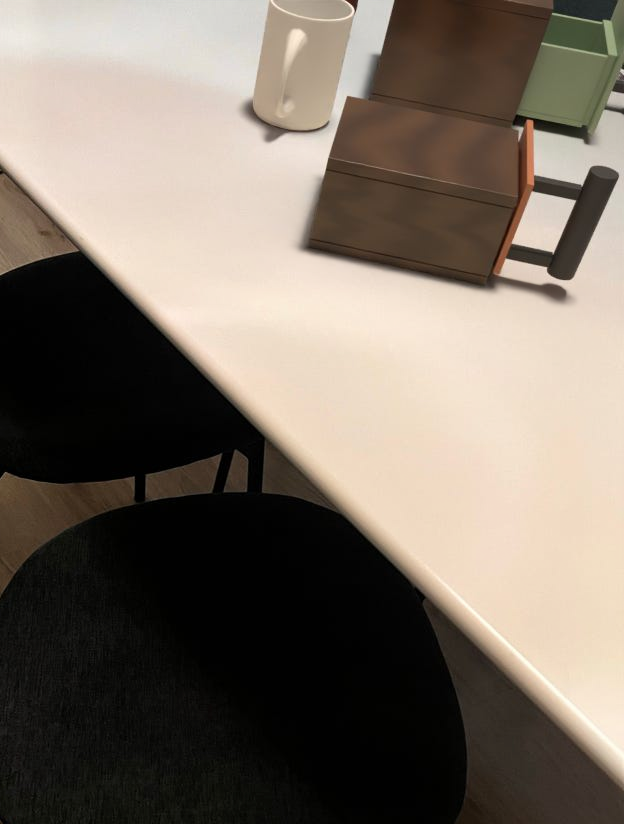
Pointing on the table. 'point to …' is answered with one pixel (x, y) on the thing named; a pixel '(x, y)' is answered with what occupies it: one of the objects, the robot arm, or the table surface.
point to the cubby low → (417, 190)
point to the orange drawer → (579, 222)
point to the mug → (301, 62)
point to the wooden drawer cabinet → (461, 56)
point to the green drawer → (576, 70)
